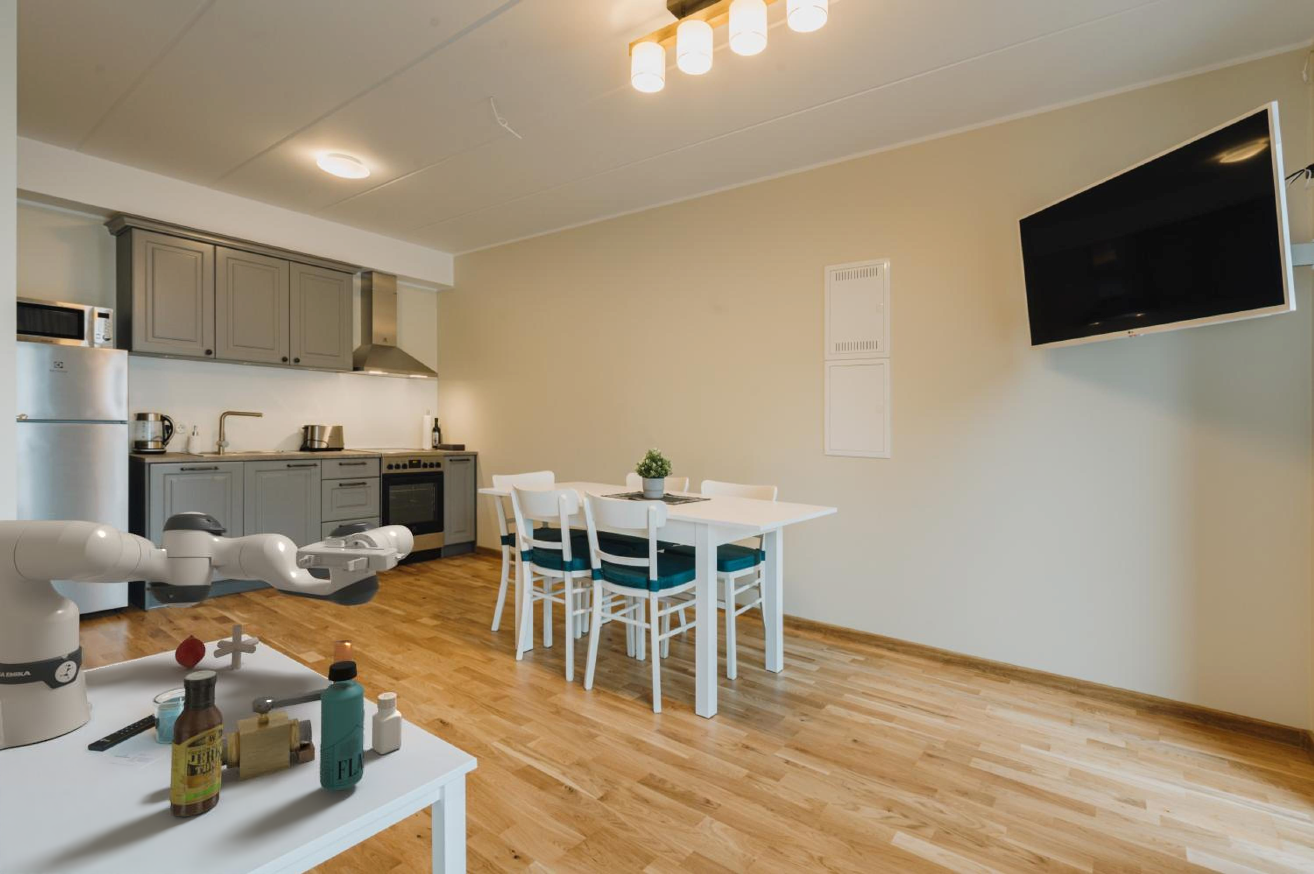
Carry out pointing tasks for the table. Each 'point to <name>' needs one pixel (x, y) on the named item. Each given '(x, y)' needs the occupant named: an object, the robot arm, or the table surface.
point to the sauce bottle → (197, 748)
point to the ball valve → (267, 744)
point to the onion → (190, 652)
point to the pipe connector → (236, 647)
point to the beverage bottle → (342, 728)
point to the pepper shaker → (386, 724)
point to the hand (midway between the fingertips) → (323, 565)
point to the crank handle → (270, 702)
